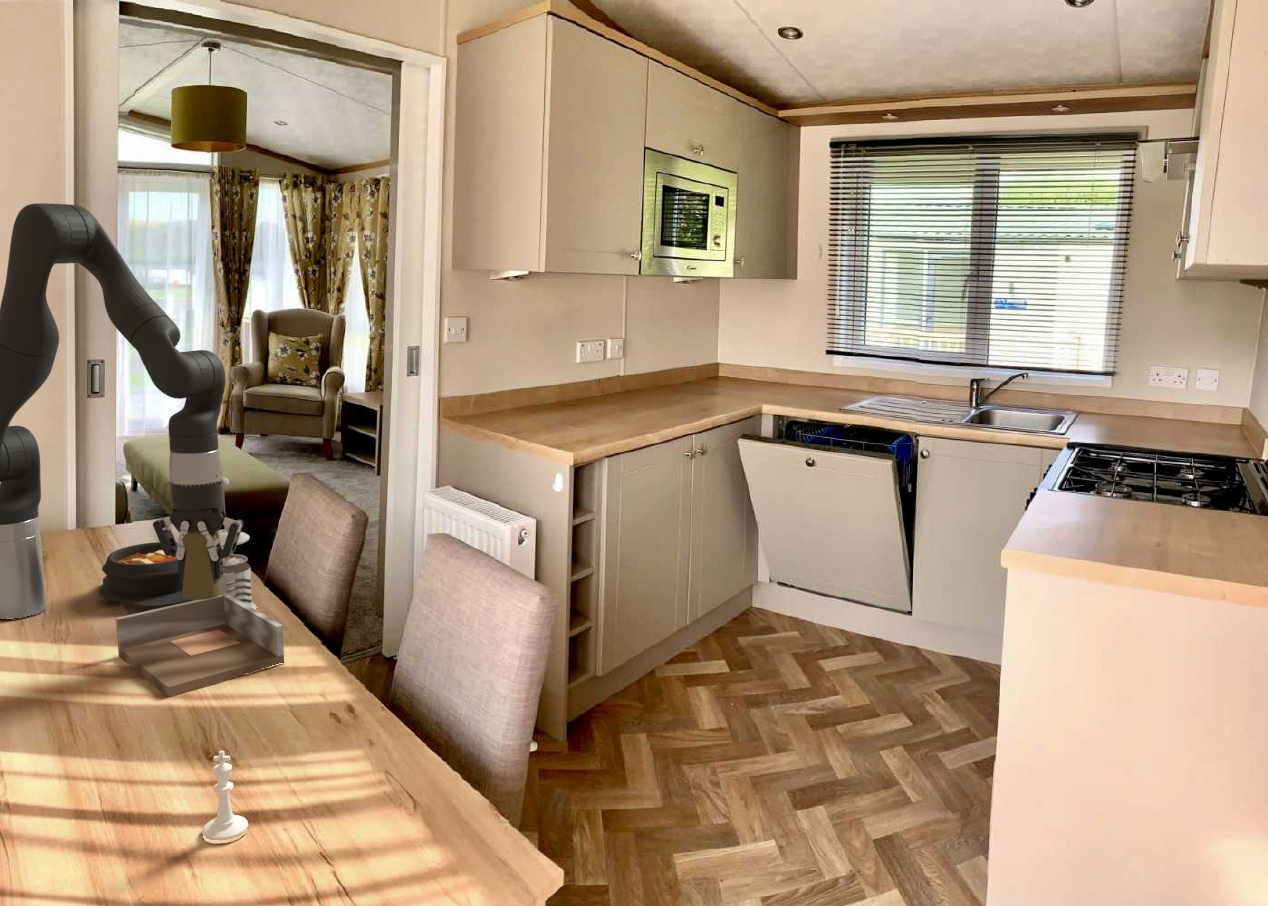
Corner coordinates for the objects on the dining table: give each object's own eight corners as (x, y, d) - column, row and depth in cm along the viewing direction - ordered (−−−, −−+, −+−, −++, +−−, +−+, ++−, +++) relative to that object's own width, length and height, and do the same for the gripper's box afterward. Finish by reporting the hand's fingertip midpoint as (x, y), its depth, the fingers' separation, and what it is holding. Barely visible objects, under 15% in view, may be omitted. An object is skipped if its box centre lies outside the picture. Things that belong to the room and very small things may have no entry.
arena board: (118, 656, 158) (115, 618, 157) (228, 628, 171) (227, 593, 170) (168, 696, 145) (166, 655, 143) (284, 663, 158) (282, 625, 156)
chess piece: (210, 820, 114) (206, 741, 112) (254, 819, 115) (250, 740, 113) (195, 845, 109) (190, 762, 108) (241, 844, 110) (237, 762, 108)
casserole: (232, 601, 184) (230, 558, 183) (127, 625, 171) (123, 579, 170) (178, 569, 201) (176, 529, 200) (79, 589, 188) (75, 546, 187)
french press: (269, 607, 182) (264, 475, 177) (219, 627, 171) (212, 488, 167) (230, 598, 186) (224, 469, 181) (179, 617, 175) (171, 481, 171)
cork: (225, 596, 159) (222, 530, 156) (185, 602, 155) (181, 535, 153) (218, 585, 164) (215, 521, 161) (178, 591, 160) (175, 525, 158)
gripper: (139, 481, 152) (146, 587, 155) (232, 484, 152) (237, 589, 156) (161, 471, 159) (167, 572, 162) (249, 473, 160) (254, 574, 163)
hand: (201, 580), depth 159 cm, fingers closed on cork, 4 cm apart
